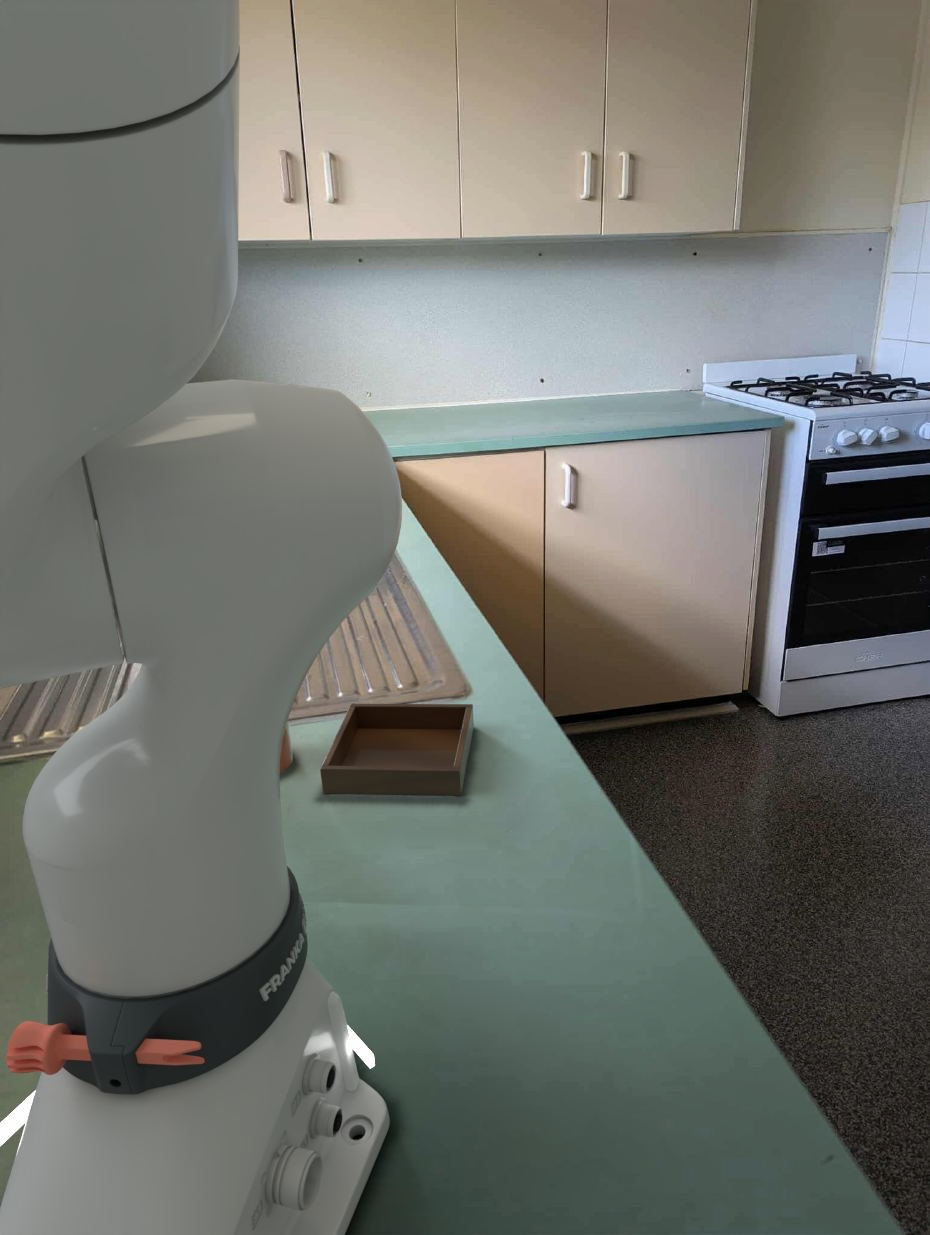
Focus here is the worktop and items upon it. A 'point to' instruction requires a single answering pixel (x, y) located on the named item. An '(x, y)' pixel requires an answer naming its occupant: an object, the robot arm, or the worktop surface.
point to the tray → (400, 750)
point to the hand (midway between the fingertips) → (115, 479)
